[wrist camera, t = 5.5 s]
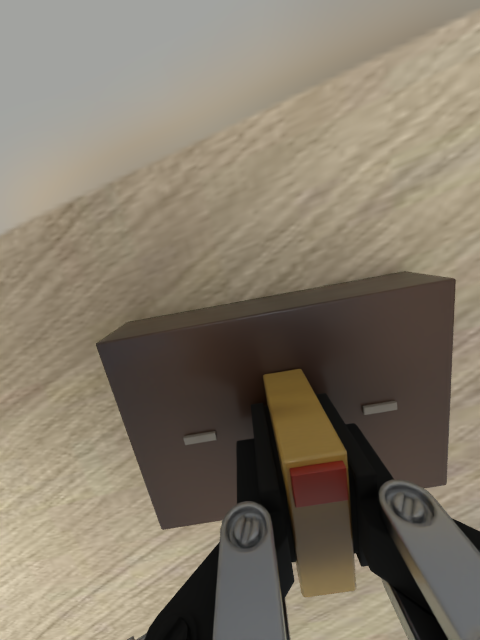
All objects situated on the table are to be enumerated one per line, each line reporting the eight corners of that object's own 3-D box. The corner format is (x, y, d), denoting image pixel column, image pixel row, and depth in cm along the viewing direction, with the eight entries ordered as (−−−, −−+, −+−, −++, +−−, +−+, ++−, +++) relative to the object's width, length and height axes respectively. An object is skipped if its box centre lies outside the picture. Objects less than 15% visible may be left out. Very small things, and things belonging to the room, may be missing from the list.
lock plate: (174, 478, 16) (160, 534, 13) (125, 322, 13) (92, 345, 10) (407, 440, 15) (450, 488, 12) (405, 270, 13) (460, 278, 10)
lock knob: (312, 466, 12) (361, 602, 7) (277, 471, 12) (304, 610, 7) (301, 367, 10) (352, 459, 6) (262, 373, 11) (283, 470, 6)
